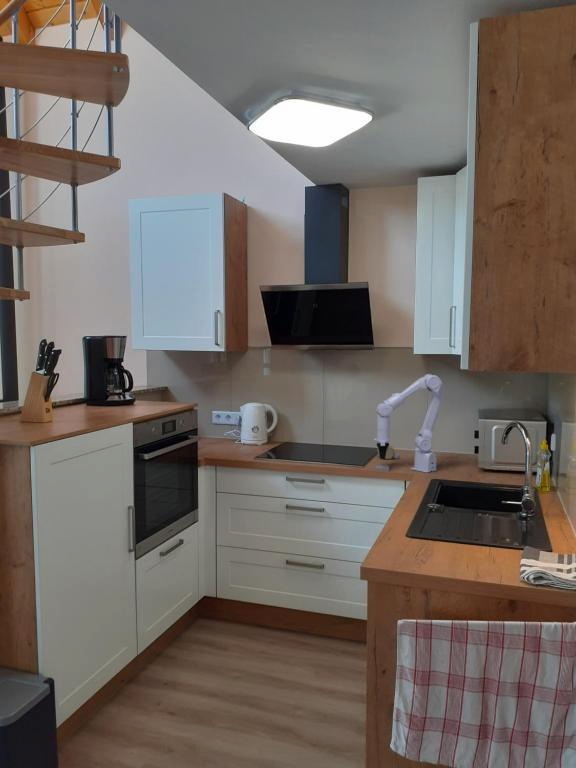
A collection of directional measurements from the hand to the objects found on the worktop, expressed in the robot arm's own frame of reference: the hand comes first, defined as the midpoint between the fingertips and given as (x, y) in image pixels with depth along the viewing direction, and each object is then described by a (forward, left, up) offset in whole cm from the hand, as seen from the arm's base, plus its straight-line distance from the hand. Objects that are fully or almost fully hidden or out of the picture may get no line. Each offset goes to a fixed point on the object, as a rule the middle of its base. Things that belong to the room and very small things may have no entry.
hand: (382, 458), depth 277 cm
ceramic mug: (+16, -23, -5) cm, 28 cm away
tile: (+1, -1, -4) cm, 5 cm away
